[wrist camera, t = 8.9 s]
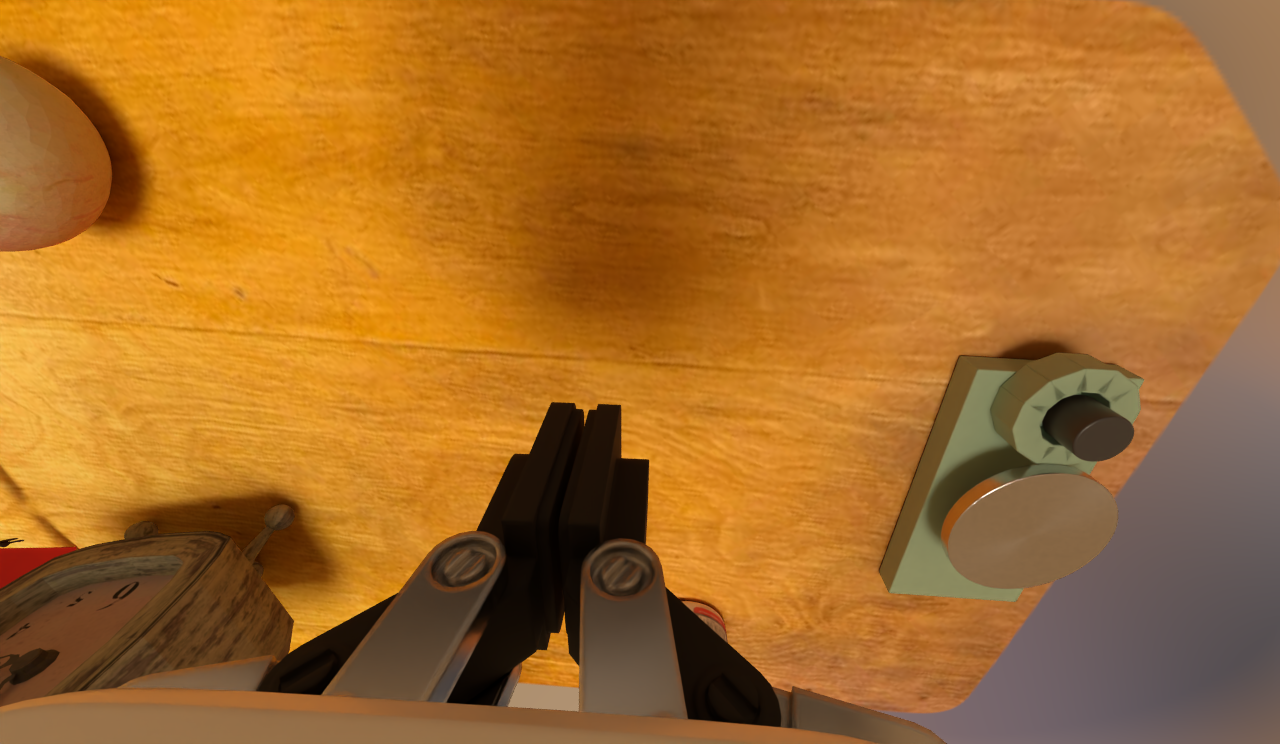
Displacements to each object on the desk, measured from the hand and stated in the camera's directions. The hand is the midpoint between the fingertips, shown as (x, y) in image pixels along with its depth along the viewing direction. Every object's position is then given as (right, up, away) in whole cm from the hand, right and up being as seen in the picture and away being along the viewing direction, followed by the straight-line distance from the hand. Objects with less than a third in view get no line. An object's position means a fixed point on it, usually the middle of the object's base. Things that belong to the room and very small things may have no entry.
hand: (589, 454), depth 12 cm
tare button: (+22, 0, +11) cm, 24 cm away
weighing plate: (+21, -6, +14) cm, 26 cm away
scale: (+22, -5, +17) cm, 28 cm away
